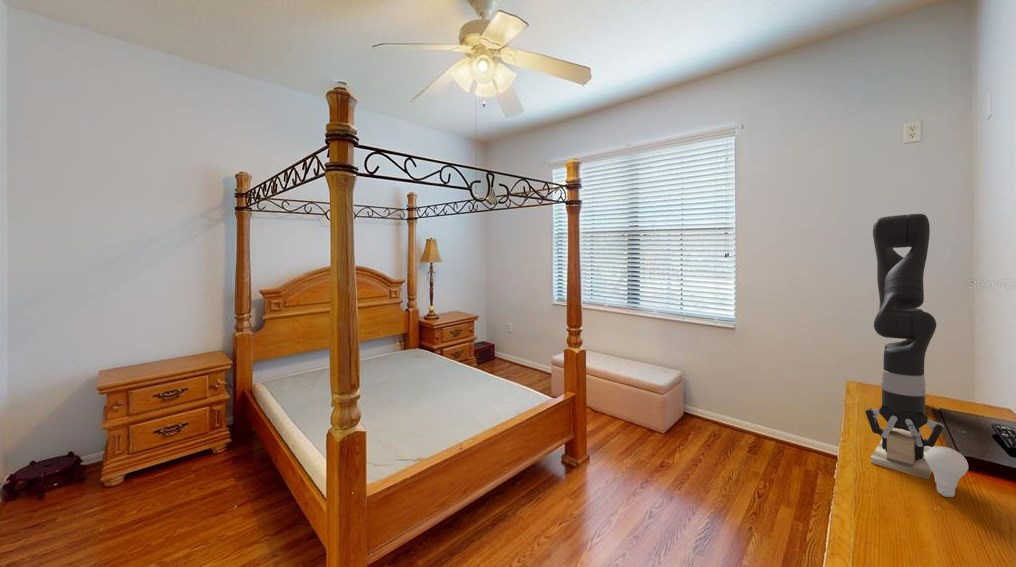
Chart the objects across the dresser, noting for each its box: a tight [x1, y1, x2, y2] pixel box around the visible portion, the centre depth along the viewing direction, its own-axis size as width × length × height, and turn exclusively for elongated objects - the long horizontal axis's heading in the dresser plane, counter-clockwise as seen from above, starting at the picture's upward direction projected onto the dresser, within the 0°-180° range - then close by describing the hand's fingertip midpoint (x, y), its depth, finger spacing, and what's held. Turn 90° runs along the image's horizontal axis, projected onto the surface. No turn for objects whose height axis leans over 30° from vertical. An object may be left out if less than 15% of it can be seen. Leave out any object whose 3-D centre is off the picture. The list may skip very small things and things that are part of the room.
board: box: [870, 439, 936, 480], centre depth 97 cm, size 18×10×2 cm, turn 126°
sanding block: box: [887, 428, 916, 467], centre depth 95 cm, size 8×4×6 cm, turn 126°
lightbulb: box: [925, 445, 969, 498], centre depth 82 cm, size 6×6×11 cm
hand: (902, 454), depth 95 cm, fingers closed on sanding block, 4 cm apart
